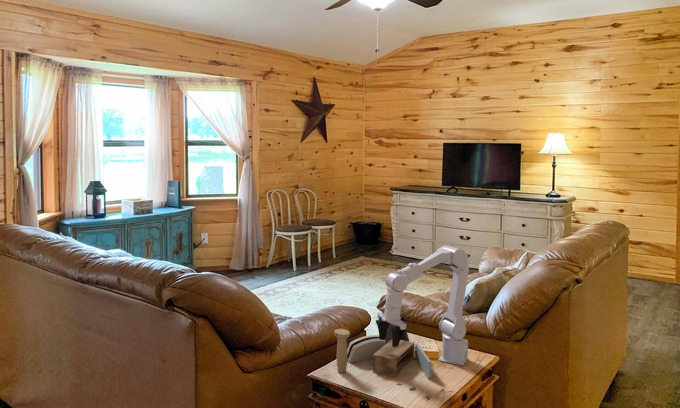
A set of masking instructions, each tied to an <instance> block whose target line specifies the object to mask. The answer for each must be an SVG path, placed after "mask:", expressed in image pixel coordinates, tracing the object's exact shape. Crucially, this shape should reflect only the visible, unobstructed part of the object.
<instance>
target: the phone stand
mask: <svg viewBox="0 0 680 408" xmlns="http://www.w3.org/2000/svg"><path fill="white" fill-rule="evenodd" d="M400 320H402V321H403V322H404V323H405V324H406V321H405V320H406V319H405V317H404V316H402V315H400ZM391 327H396V326H395V325H393V324H391V323H390V324H389V326H388V329H387V334H386V338H385V341H386V344H387V343H388V342H389V341H390V340H391V339H392V330H391ZM401 340H404V341H410V339H409V334H408V331H407V330H406V332H405V333H404V334H403V336H402V338H401Z"/></svg>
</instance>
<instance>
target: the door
mask: <svg viewBox="0 0 680 408" xmlns="http://www.w3.org/2000/svg"><path fill="white" fill-rule="evenodd" d="M414 359H415V361H416V362H417V364H418V365H419V367H420V368H421V370H422V371H423V373H424V374H425V375H426V377H427V379H432V368H434V363H433V362H432V360H431V359H430V358H429V356H428V355H427V354H426V353H425V351H424V350H423V348H422V347H421V345H420V344H419V343H414Z"/></svg>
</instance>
